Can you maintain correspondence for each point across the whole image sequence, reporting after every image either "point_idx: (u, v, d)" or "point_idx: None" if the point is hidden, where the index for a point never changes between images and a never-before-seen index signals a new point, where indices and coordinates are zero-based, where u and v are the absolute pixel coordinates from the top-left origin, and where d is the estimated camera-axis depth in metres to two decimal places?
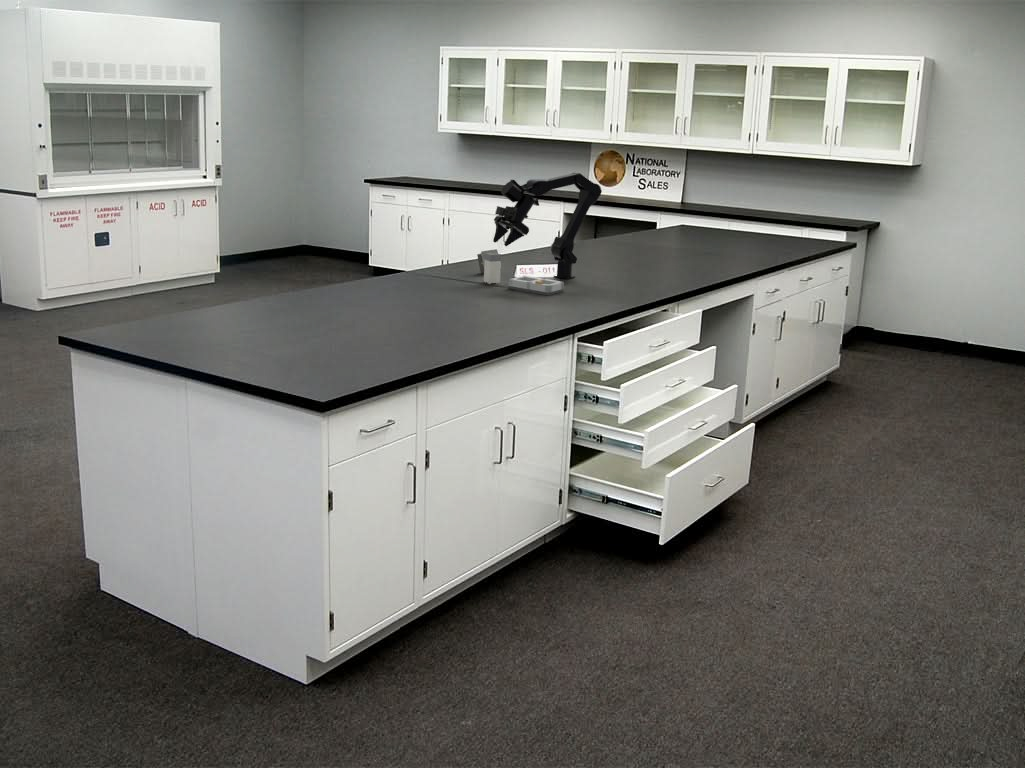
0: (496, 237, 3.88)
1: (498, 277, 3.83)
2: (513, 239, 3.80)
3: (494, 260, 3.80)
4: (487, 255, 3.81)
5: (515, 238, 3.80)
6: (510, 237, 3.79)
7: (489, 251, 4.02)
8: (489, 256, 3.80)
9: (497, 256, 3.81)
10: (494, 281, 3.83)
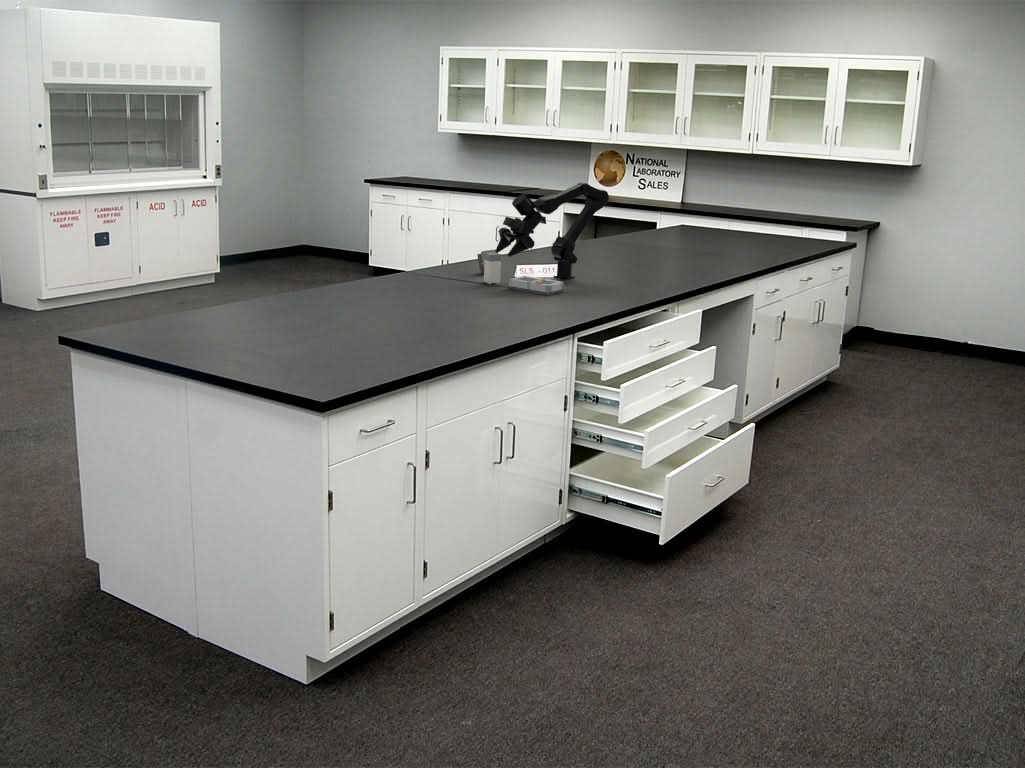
0: (499, 248, 3.88)
1: (498, 277, 3.83)
2: (517, 251, 3.80)
3: (494, 260, 3.80)
4: (487, 255, 3.81)
5: (519, 250, 3.81)
6: (515, 248, 3.79)
7: (489, 251, 4.02)
8: (489, 256, 3.80)
9: (497, 256, 3.81)
10: (494, 281, 3.83)
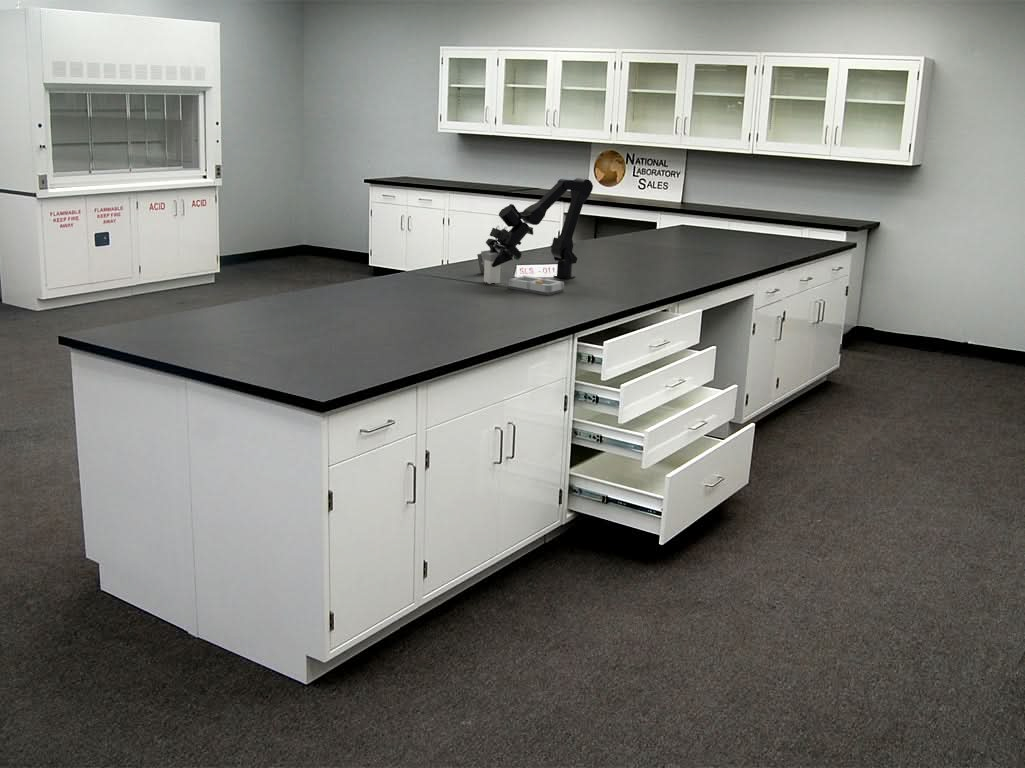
0: None
1: (498, 277, 3.83)
2: (501, 262, 3.80)
3: (494, 260, 3.80)
4: (487, 255, 3.81)
5: (503, 261, 3.81)
6: (499, 259, 3.80)
7: (489, 251, 4.02)
8: (489, 256, 3.80)
9: (497, 256, 3.81)
10: (494, 281, 3.83)
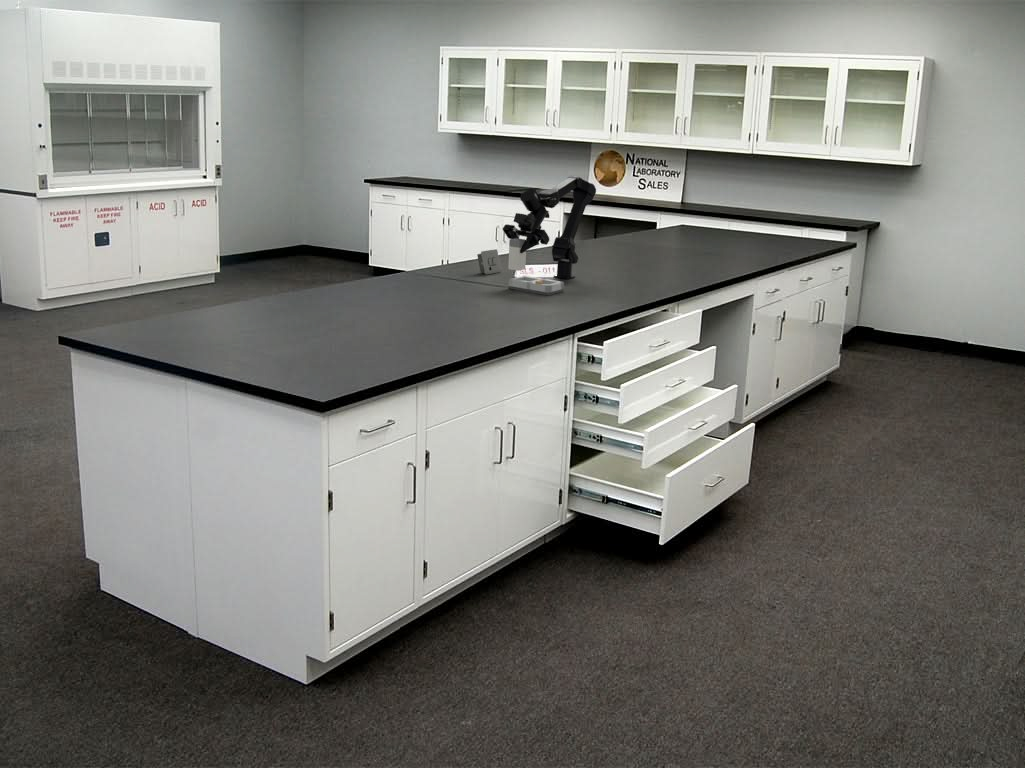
0: None
1: (524, 263, 3.75)
2: (528, 247, 3.73)
3: (521, 246, 3.72)
4: (513, 241, 3.72)
5: (530, 246, 3.74)
6: (526, 244, 3.72)
7: (489, 251, 4.02)
8: (517, 242, 3.71)
9: (523, 242, 3.73)
10: (521, 267, 3.75)
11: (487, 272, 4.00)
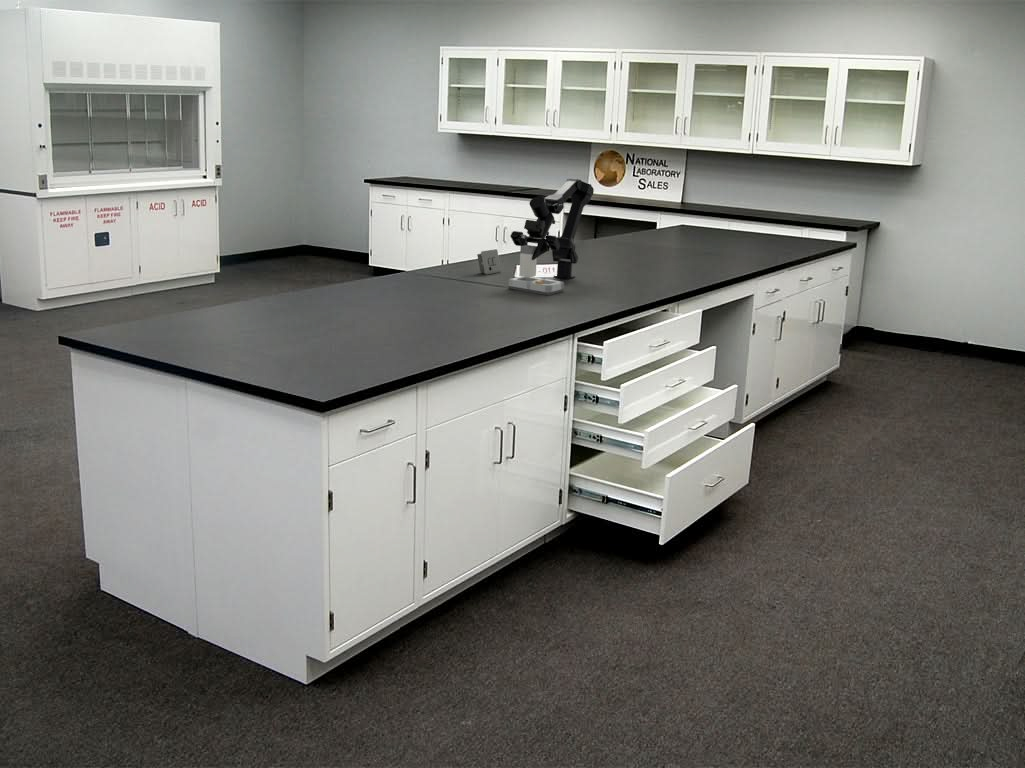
0: None
1: (535, 270, 3.75)
2: (539, 254, 3.73)
3: (533, 253, 3.71)
4: (525, 248, 3.70)
5: (541, 252, 3.73)
6: (538, 251, 3.71)
7: (489, 251, 4.02)
8: (529, 249, 3.70)
9: (535, 248, 3.72)
10: (532, 274, 3.74)
11: (487, 272, 4.00)
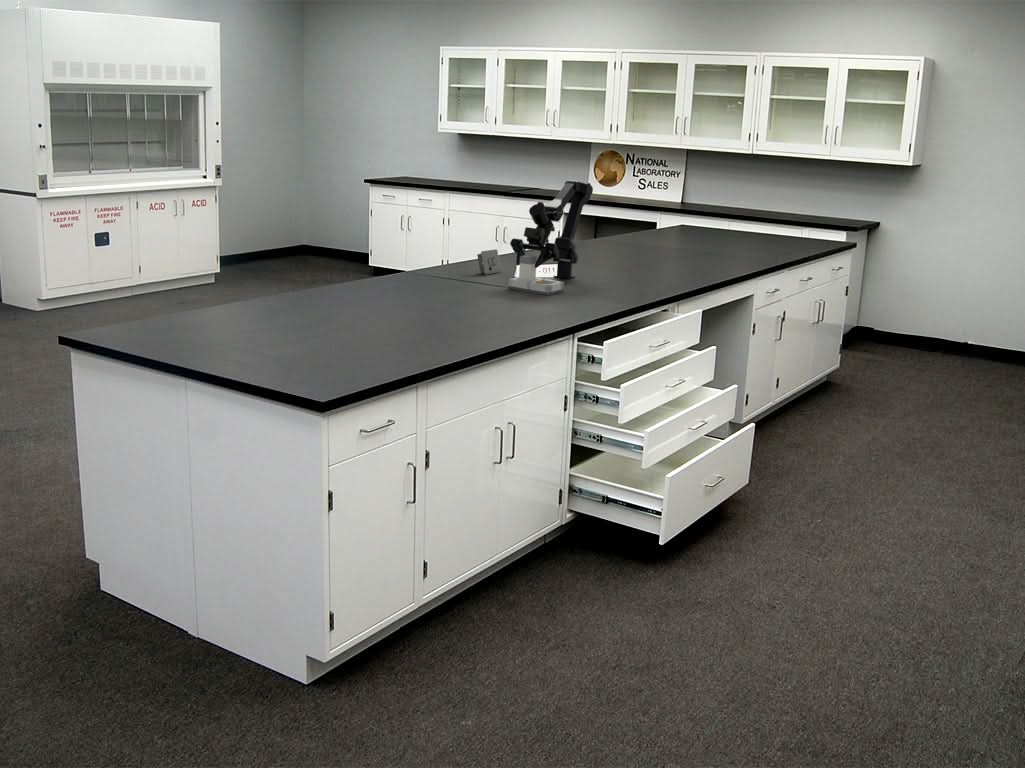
0: (519, 260, 3.75)
1: None
2: (542, 262, 3.73)
3: (532, 263, 3.72)
4: (524, 258, 3.71)
5: (544, 260, 3.73)
6: (541, 259, 3.71)
7: (489, 251, 4.02)
8: (529, 259, 3.71)
9: (534, 258, 3.73)
10: None
11: (487, 272, 4.00)
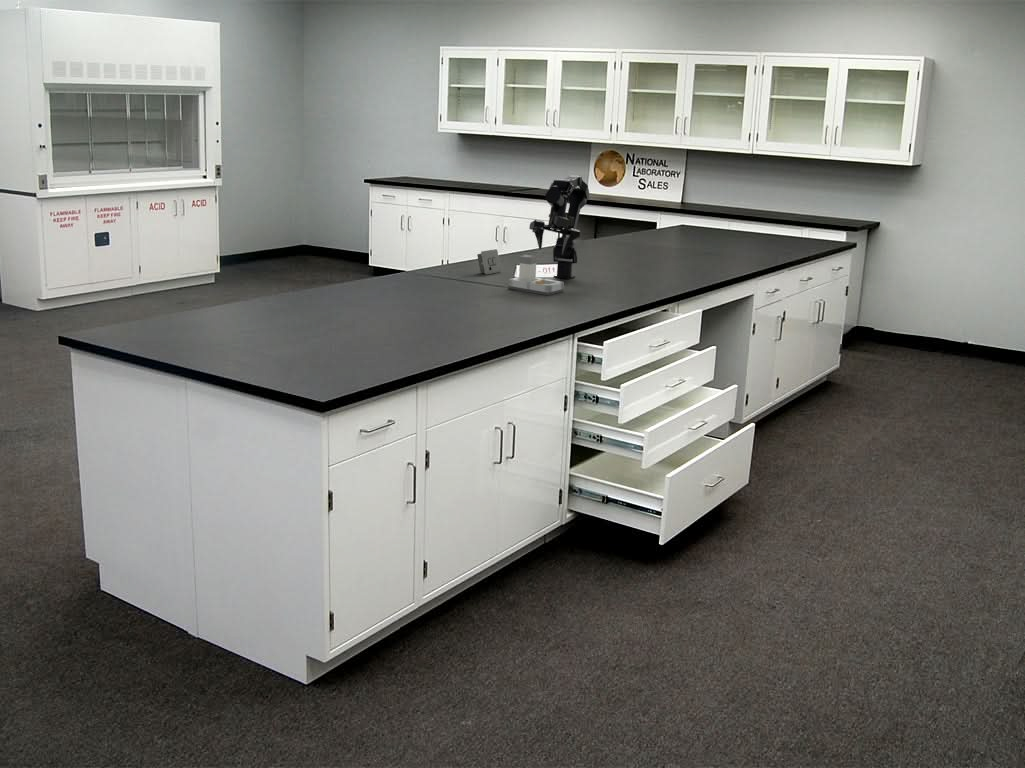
0: None
1: None
2: None
3: (532, 263, 3.72)
4: (524, 258, 3.71)
5: None
6: None
7: (489, 251, 4.02)
8: (529, 259, 3.71)
9: (534, 258, 3.73)
10: None
11: (487, 272, 4.00)
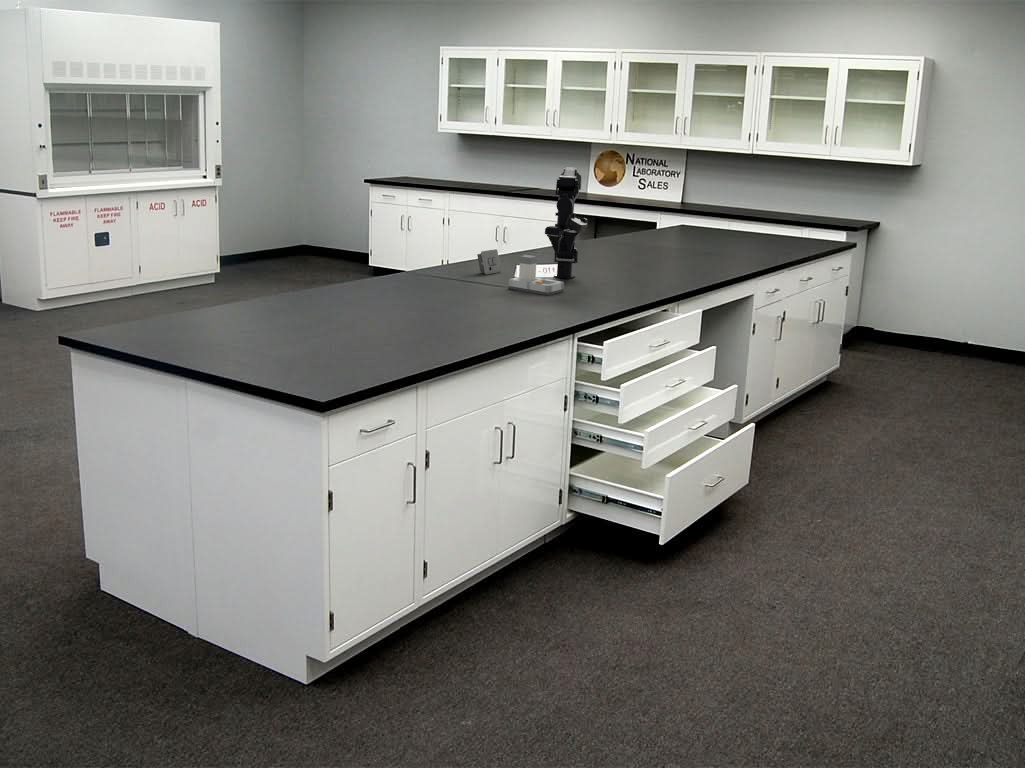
0: None
1: None
2: None
3: (532, 263, 3.72)
4: (524, 258, 3.71)
5: None
6: None
7: (489, 251, 4.02)
8: (529, 259, 3.71)
9: (534, 258, 3.73)
10: None
11: (487, 272, 4.00)
